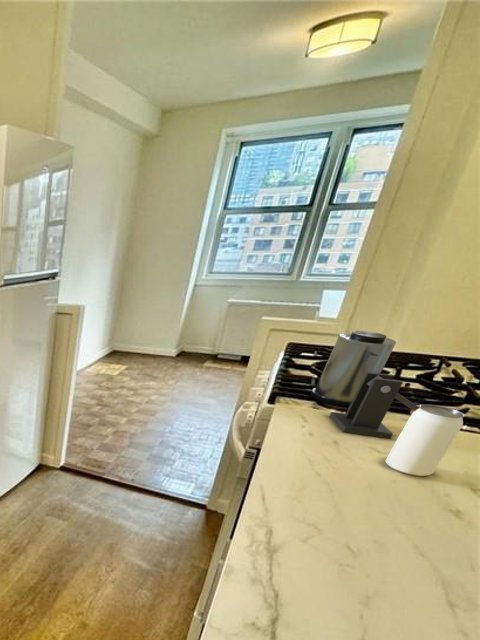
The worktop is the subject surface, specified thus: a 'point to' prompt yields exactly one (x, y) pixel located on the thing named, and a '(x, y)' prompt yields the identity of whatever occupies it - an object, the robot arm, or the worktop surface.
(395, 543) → the worktop surface
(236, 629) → the worktop surface
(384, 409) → the switch bracket
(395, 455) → the can
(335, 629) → the worktop surface
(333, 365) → the kettle
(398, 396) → the switch
